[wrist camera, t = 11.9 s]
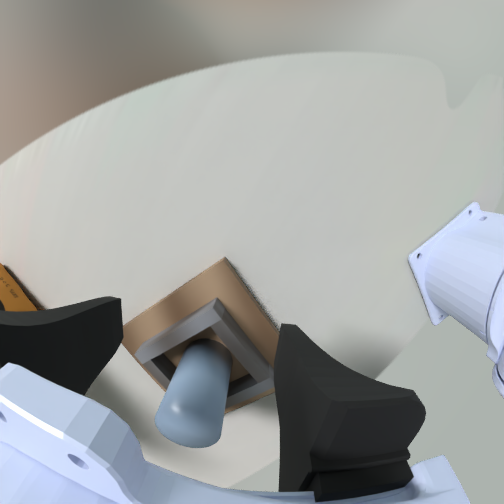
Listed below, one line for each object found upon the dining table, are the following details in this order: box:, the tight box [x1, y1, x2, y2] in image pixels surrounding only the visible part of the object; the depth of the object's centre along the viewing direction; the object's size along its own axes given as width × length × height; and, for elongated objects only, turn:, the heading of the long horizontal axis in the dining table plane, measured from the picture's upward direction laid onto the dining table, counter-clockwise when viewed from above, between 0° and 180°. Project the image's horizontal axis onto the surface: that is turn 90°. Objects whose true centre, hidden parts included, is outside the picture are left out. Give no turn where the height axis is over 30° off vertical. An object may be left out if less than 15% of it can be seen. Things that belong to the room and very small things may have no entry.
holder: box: [121, 257, 279, 414], centre depth 21 cm, size 12×12×3 cm
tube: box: [155, 338, 232, 448], centre depth 17 cm, size 4×4×8 cm
